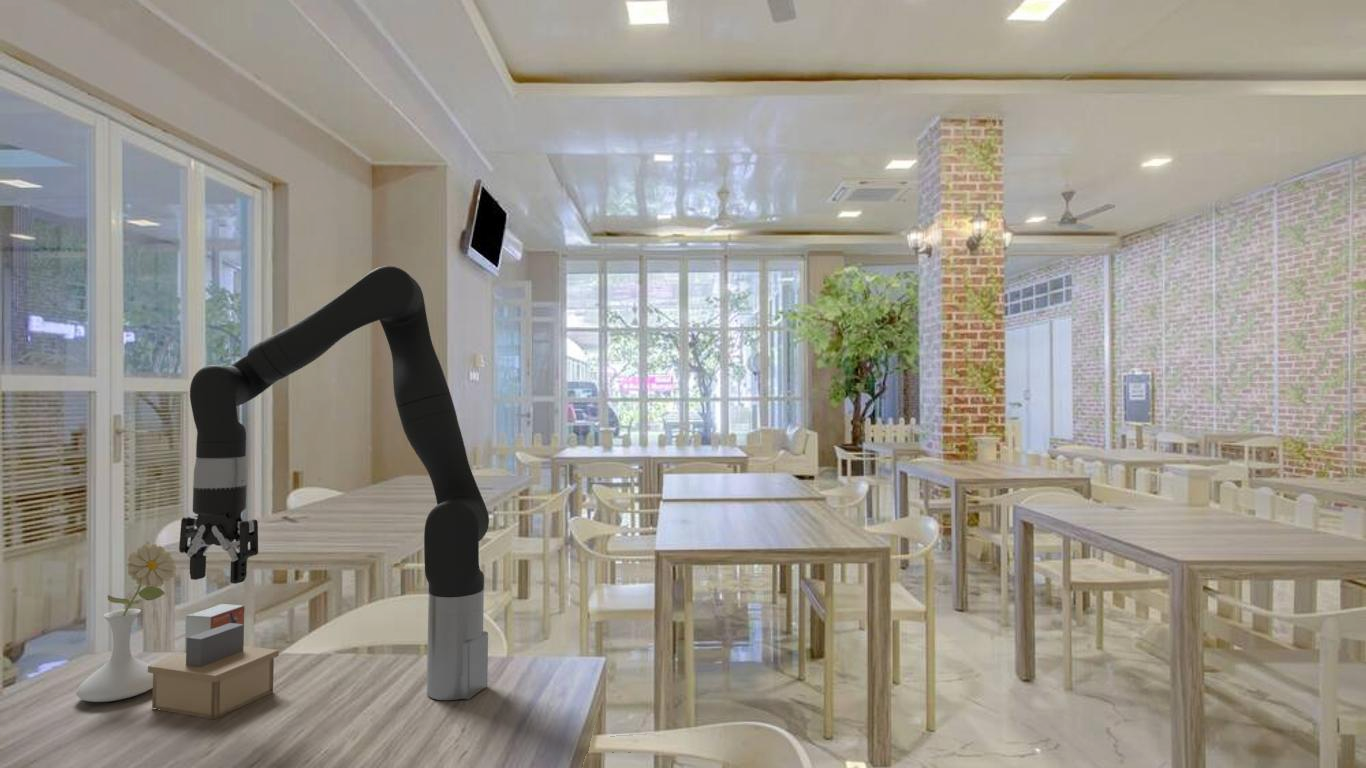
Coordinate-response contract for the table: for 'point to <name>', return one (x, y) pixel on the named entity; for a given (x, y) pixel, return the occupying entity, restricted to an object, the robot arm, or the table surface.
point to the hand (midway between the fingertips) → (217, 580)
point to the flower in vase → (129, 631)
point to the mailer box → (212, 692)
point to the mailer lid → (214, 655)
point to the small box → (213, 619)
